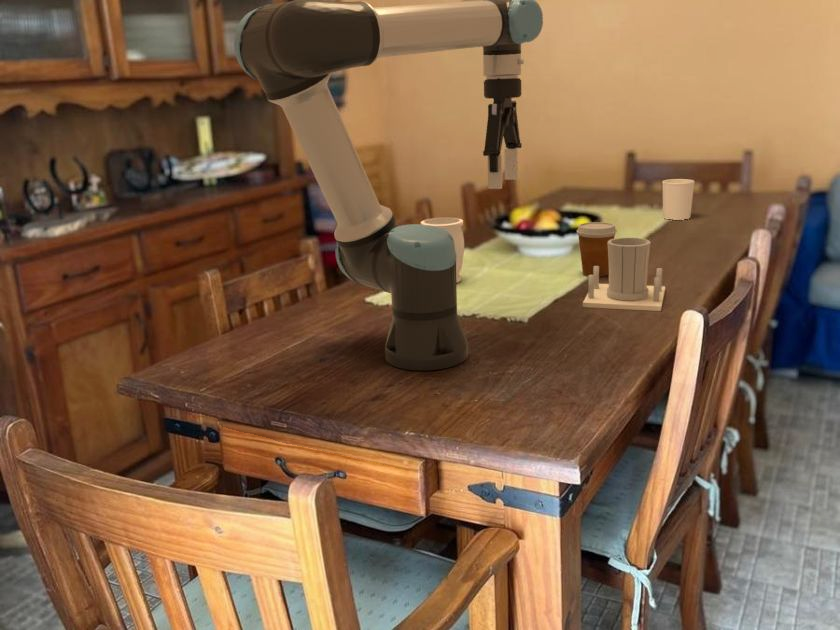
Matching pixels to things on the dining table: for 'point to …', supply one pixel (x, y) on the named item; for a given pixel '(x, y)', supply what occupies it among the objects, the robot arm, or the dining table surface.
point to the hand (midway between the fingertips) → (503, 184)
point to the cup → (628, 268)
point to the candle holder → (677, 198)
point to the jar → (455, 230)
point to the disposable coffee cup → (595, 246)
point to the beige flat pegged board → (601, 300)
